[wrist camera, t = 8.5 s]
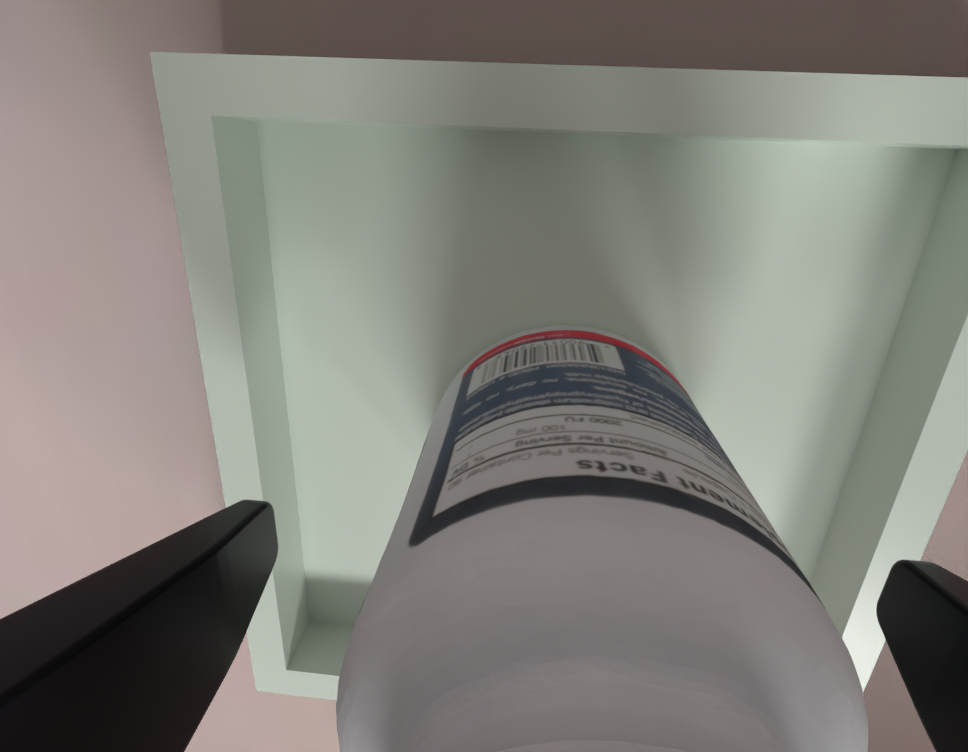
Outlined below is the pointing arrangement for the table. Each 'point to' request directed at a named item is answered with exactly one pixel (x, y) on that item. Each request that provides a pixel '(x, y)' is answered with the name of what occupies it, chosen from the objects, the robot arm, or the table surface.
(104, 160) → the table surface
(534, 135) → the tray
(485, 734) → the pill bottle
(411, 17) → the table surface
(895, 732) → the table surface
